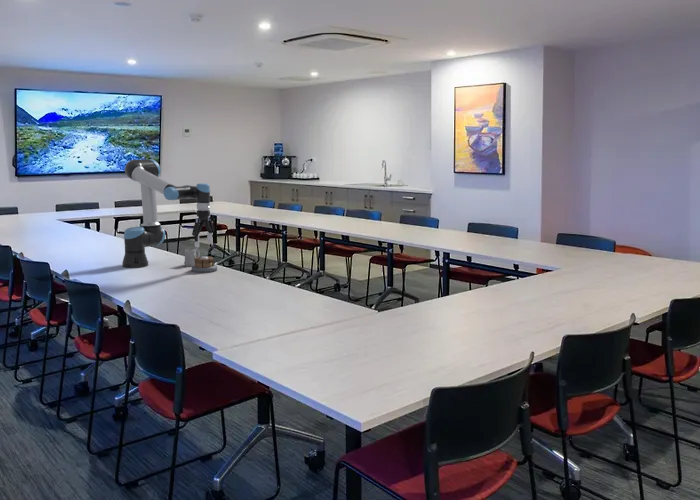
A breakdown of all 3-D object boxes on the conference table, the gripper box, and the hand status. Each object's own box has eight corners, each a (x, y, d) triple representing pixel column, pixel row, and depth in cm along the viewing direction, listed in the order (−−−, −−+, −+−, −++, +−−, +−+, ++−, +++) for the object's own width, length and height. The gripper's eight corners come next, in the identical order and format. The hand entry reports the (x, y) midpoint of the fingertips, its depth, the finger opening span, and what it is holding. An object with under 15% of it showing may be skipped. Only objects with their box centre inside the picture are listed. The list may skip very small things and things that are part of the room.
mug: (181, 265, 390) (180, 246, 388) (195, 262, 399) (195, 244, 397) (190, 266, 386) (189, 247, 384) (204, 264, 395) (203, 245, 393)
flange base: (186, 271, 372) (186, 258, 370) (200, 267, 386) (200, 254, 384) (208, 273, 367) (208, 260, 365) (221, 269, 381) (221, 256, 379)
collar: (191, 267, 372) (191, 258, 372) (201, 263, 382) (201, 255, 382) (207, 268, 369) (207, 260, 368) (216, 265, 379) (216, 257, 378)
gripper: (196, 212, 357) (197, 248, 361) (220, 208, 380) (219, 242, 384) (185, 211, 360) (185, 247, 363) (209, 207, 383) (209, 241, 387)
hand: (203, 245), depth 374 cm, fingers open, 13 cm apart
